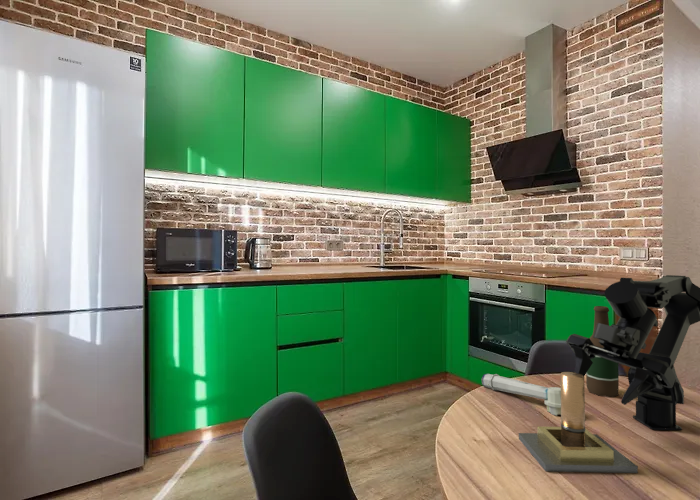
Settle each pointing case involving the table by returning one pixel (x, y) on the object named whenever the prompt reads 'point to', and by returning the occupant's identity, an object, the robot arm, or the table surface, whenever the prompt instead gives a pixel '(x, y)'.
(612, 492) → the table surface
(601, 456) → the framed base plate
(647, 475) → the table surface
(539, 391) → the light grey long piece
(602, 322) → the beer bottle
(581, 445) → the tube
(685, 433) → the table surface
